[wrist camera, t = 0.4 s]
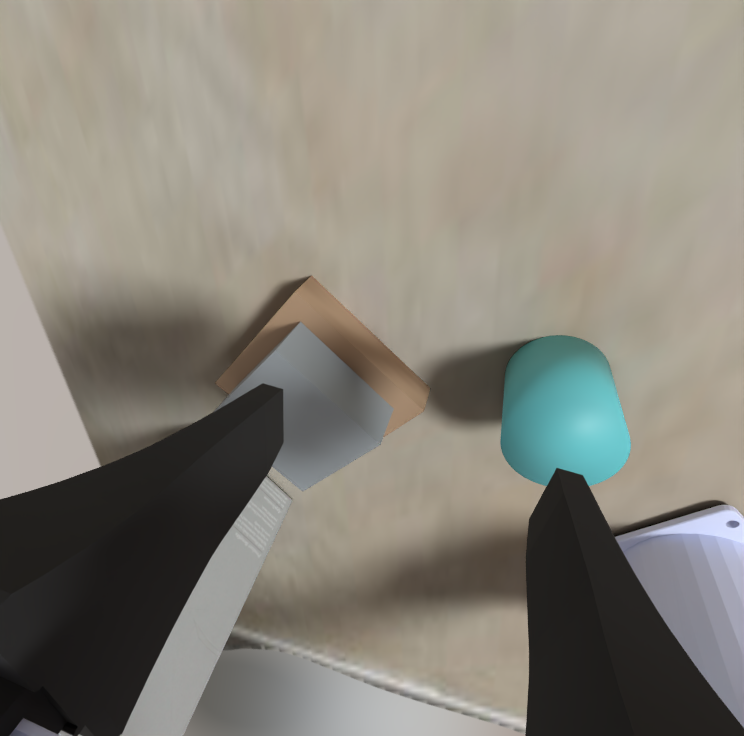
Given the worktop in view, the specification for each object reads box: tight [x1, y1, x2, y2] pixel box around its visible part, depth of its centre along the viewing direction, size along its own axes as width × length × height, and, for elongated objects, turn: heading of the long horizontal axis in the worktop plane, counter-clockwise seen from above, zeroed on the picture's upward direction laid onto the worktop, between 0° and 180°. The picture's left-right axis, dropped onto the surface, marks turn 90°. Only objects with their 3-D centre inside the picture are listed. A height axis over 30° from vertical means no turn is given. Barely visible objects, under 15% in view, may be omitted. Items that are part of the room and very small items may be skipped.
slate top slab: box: [214, 322, 394, 491], centre depth 21 cm, size 6×6×2 cm
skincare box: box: [58, 476, 292, 736], centre depth 25 cm, size 8×7×16 cm
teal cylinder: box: [501, 335, 631, 486], centre depth 18 cm, size 4×4×4 cm
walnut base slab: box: [215, 276, 430, 437], centre depth 23 cm, size 8×8×2 cm
